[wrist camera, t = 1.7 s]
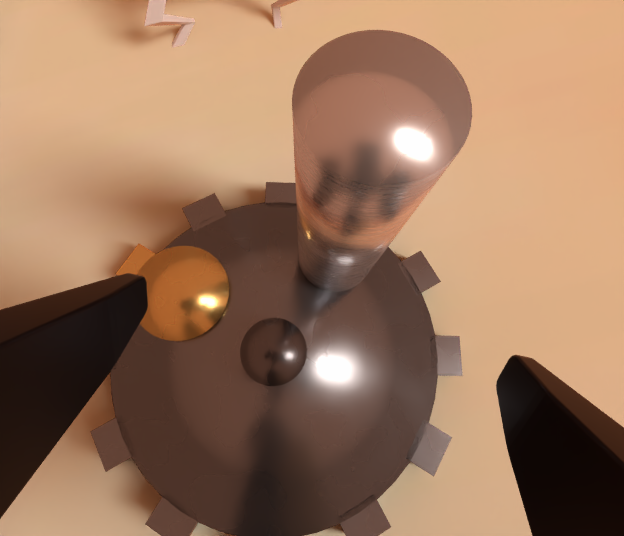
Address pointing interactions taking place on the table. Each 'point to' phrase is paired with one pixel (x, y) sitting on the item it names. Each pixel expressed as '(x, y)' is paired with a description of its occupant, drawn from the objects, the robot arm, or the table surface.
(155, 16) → the origami figure
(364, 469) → the sprocket plate
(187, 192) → the table surface
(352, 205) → the drive pin
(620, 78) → the table surface
